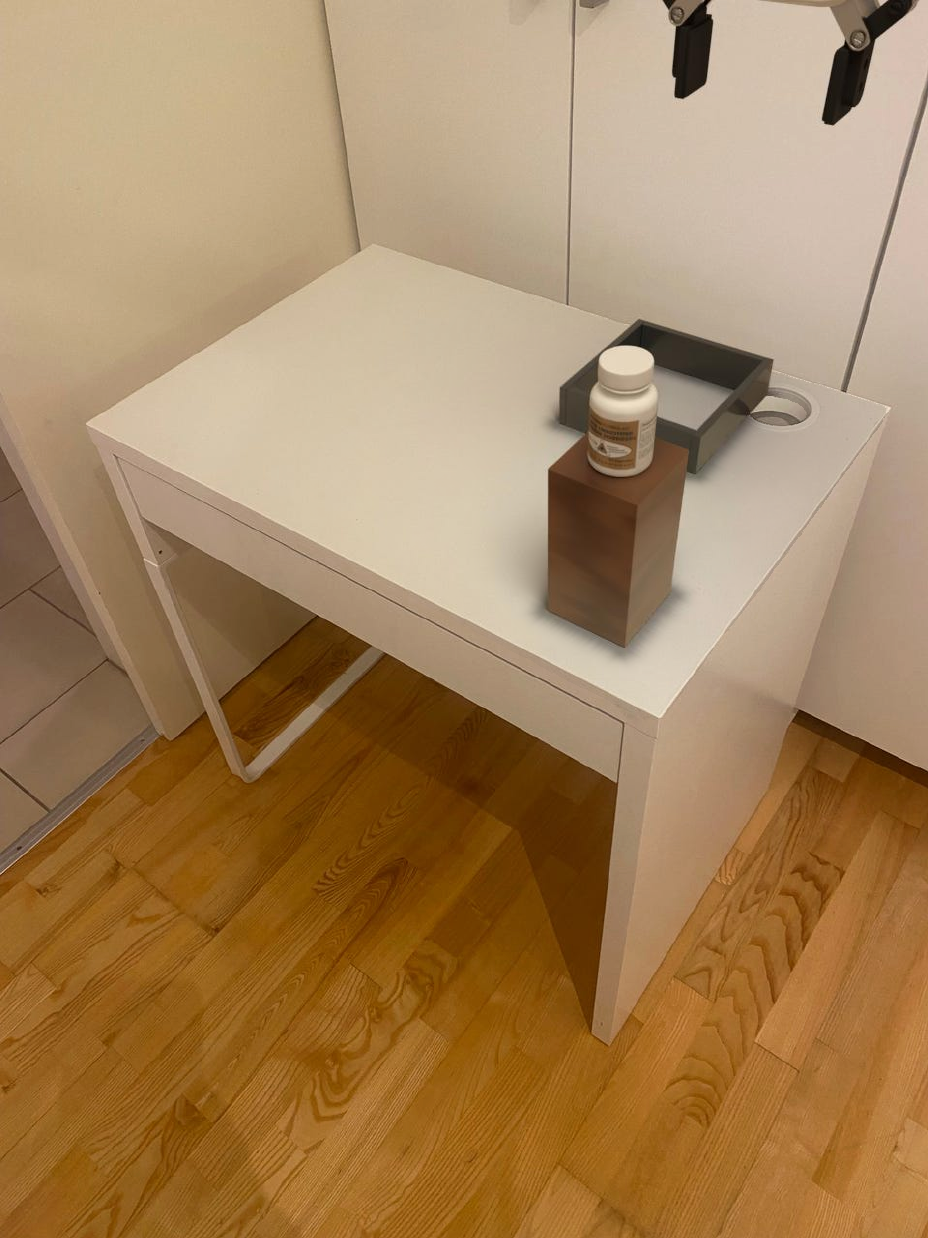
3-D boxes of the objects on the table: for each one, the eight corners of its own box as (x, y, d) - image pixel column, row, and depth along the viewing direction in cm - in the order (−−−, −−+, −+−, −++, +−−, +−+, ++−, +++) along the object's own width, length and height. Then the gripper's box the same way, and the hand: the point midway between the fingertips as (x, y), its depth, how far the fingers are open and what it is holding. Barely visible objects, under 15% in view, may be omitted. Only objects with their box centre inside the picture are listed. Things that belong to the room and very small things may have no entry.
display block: (670, 593, 76) (689, 449, 65) (624, 648, 72) (637, 505, 62) (594, 559, 79) (601, 417, 69) (547, 610, 75) (547, 468, 65)
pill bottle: (574, 465, 65) (577, 365, 59) (608, 432, 67) (614, 333, 62) (631, 487, 63) (639, 386, 57) (664, 453, 65) (675, 352, 60)
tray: (766, 395, 93) (774, 359, 90) (695, 474, 86) (700, 437, 83) (636, 353, 100) (638, 318, 97) (558, 422, 92) (559, 387, 89)
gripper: (1028, -285, 45) (923, 107, 57) (693, -279, 53) (665, 65, 65) (977, -265, 41) (876, 151, 53) (624, -261, 49) (608, 101, 61)
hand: (760, 103), depth 59 cm, fingers open, 9 cm apart
